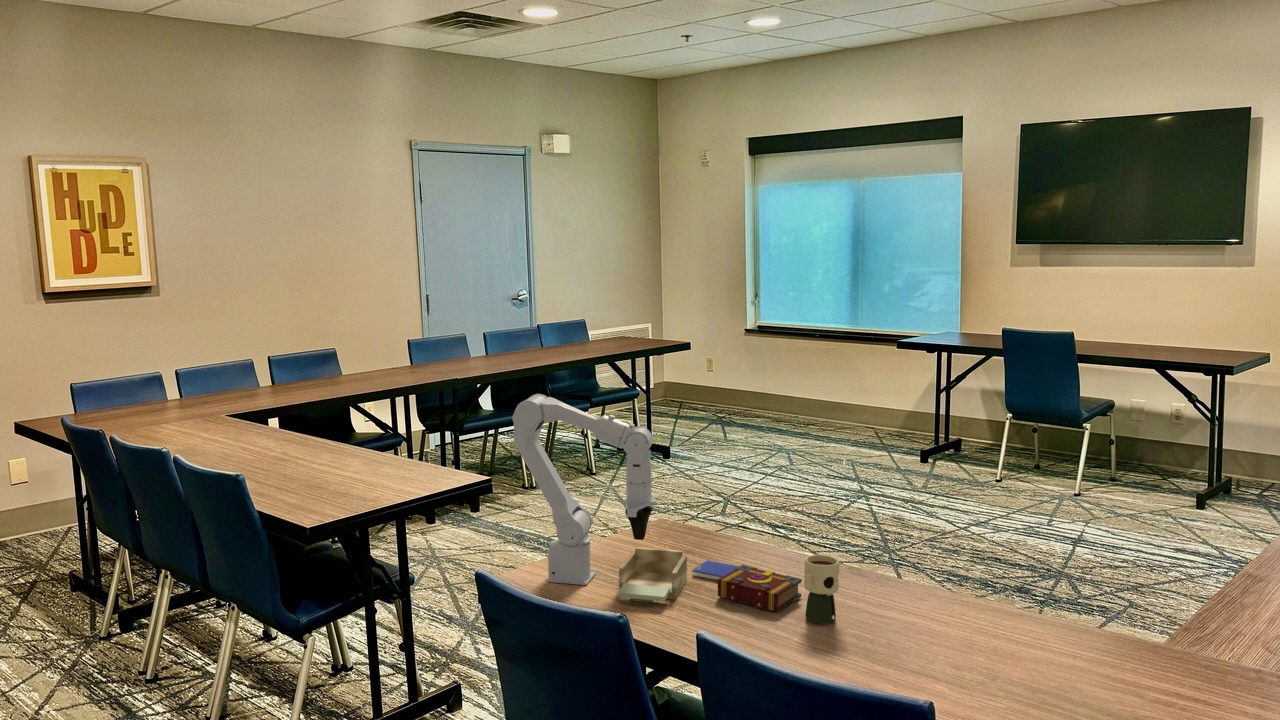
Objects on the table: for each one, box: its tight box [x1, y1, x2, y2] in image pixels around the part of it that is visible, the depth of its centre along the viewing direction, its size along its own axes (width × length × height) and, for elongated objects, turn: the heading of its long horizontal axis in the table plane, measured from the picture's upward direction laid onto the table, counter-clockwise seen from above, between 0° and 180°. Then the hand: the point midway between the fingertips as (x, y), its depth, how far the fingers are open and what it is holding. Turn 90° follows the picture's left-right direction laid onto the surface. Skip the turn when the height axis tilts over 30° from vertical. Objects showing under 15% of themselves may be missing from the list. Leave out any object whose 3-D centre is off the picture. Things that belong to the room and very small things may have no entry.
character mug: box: [803, 554, 840, 624], centre depth 204 cm, size 11×7×13 cm, turn 137°
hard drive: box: [691, 559, 740, 581], centre depth 230 cm, size 2×8×12 cm
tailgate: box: [617, 584, 670, 603], centre depth 214 cm, size 10×2×6 cm
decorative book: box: [716, 564, 803, 613], centre depth 217 cm, size 11×16×5 cm
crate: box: [618, 546, 688, 600], centre depth 223 cm, size 13×12×7 cm
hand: (639, 538), depth 225 cm, fingers closed
